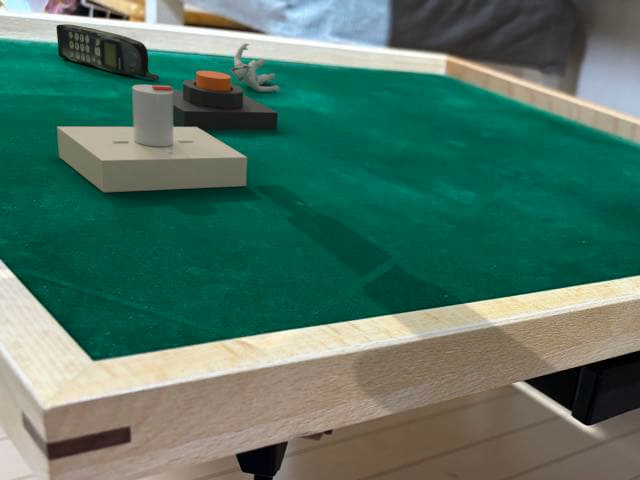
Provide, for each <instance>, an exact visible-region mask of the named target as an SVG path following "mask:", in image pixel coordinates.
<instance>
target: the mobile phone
mask: <svg viewBox="0 0 640 480" xmlns="http://www.w3.org/2000/svg"><path fill="white" fill-rule="evenodd" d="M56 39H57V53H58V57H60V58H61V59H64V60H67V61H69V62H73V63H77V64H81V65H85V66H87V67H92V68H95V69H98V70H101V71H102V70H103V71H105V72H109V73H113V74H117V75H124V76H137V77H141V78H146V79H150V80H155V81H159V80H160V76H159V74H154V73H152V72H150V71H149V52H148V49H147V47H146V45H145V44H144V43H143V42H141V41H139V40H137V39H134V38H131V37H128V36H126V35H125V36H124V35H121V34H117V33H113V32H109V31H105V30H100V29H97V28H93V27H86V26H82V25H75V24H69V23H68V24H67V23H65V24H64V23H63V24H62V23H61V24H57V25H56Z"/></svg>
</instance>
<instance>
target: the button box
mask: <svg viewBox="0 0 640 480" xmlns="http://www.w3.org/2000/svg"><path fill="white" fill-rule="evenodd" d="M172 91H173V125H176V126H177V127H198V128H199V129H201V130H203V131H237V130H238V131H277V130H278V117H279V116H278V114H279V113H278V112H277V111H275V110H274V109H271V108H270V107H268V106H266V105H265V104H262V103H260V102H258V101H256V100H255V99H252V98H250V97H249V96H246V95H245V94H244V88H242V87H240V86H238V85H236V84H233V83H231V91H215V90H209V89H204V88H200V87H197V86H196V78H193V79H186V80H184V81H183V83H182V90H178V89H172Z"/></svg>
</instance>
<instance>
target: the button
mask: <svg viewBox="0 0 640 480" xmlns="http://www.w3.org/2000/svg"><path fill="white" fill-rule="evenodd" d="M195 75H196V77H195V79H196V86H197V87H200V88H204V89H209V90H215V91H231V84H232V77H231V75H229V74H227V73H223V72H219V71H212V70H197V71H196V74H195Z"/></svg>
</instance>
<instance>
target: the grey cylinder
mask: <svg viewBox="0 0 640 480" xmlns="http://www.w3.org/2000/svg"><path fill="white" fill-rule="evenodd" d="M172 90H173V87H172V86H170V85H157V84H155V85H154V84H134V85H132V87H131V91H132V93H131V95H132V127H133V132H134V141H135V142H137V143H140V144H143V145H148V146H157V147H164V146H170V145H173V143H174V134H173V127H174V123H173V91H172Z"/></svg>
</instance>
